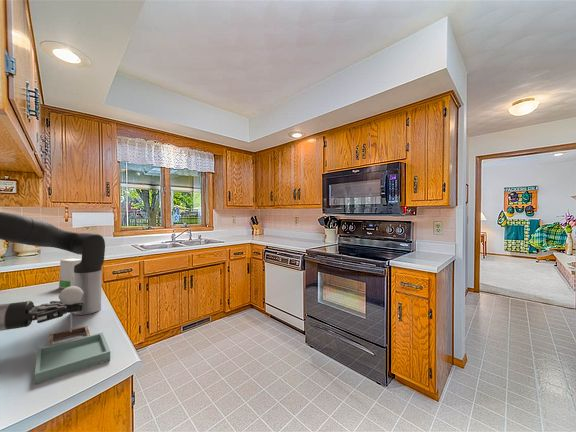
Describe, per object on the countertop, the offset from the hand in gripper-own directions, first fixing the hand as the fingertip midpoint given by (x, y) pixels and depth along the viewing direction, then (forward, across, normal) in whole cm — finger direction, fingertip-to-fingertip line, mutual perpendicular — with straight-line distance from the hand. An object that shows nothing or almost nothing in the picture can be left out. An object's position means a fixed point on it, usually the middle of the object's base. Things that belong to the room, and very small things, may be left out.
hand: (82, 306), depth 83 cm
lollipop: (-3, 0, +8) cm, 9 cm away
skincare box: (-17, +75, +12) cm, 78 cm away
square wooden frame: (-3, 0, +11) cm, 11 cm away
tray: (0, -14, +11) cm, 17 cm away
